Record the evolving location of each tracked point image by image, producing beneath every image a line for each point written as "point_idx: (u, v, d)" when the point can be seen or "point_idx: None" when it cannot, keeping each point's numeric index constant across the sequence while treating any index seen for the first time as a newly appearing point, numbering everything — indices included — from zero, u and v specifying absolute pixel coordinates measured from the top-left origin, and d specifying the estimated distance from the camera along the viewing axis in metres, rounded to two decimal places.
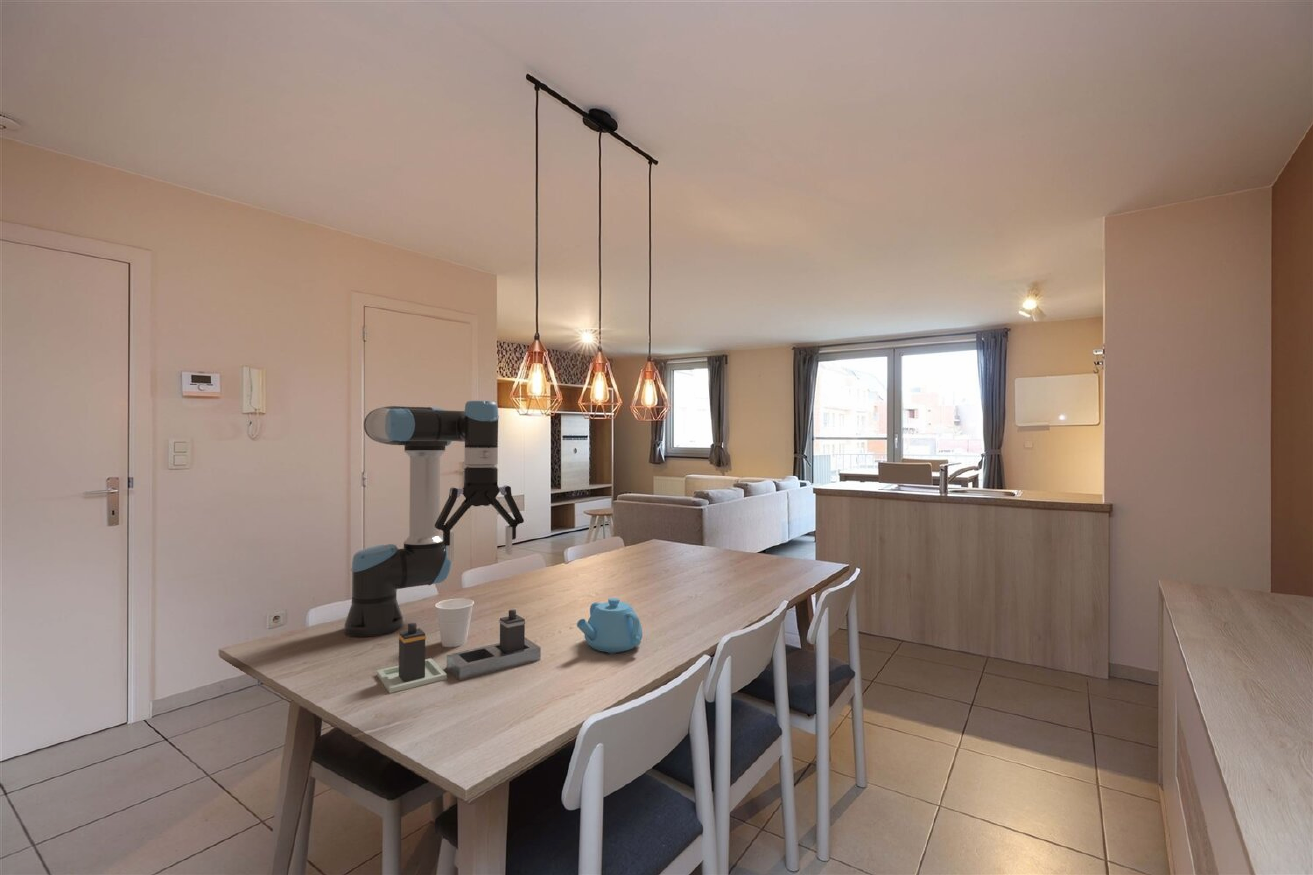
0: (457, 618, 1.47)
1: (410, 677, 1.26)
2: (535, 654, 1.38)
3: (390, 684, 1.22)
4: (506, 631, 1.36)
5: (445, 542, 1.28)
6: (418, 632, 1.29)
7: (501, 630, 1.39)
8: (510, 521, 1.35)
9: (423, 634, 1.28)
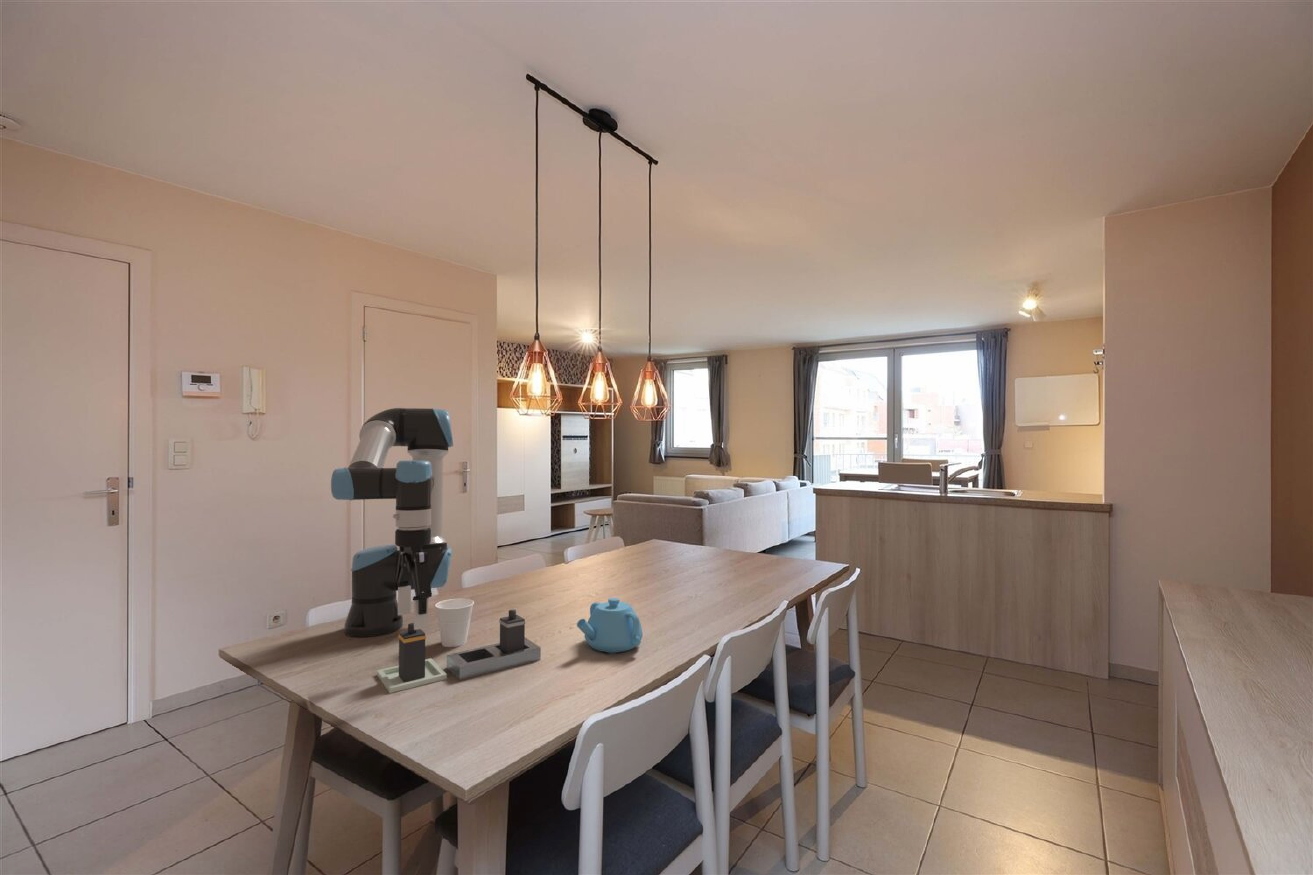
0: (457, 618, 1.47)
1: (410, 677, 1.26)
2: (535, 654, 1.38)
3: (390, 684, 1.22)
4: (506, 631, 1.36)
5: None
6: (418, 632, 1.29)
7: (501, 630, 1.39)
8: (415, 592, 1.22)
9: (423, 634, 1.28)
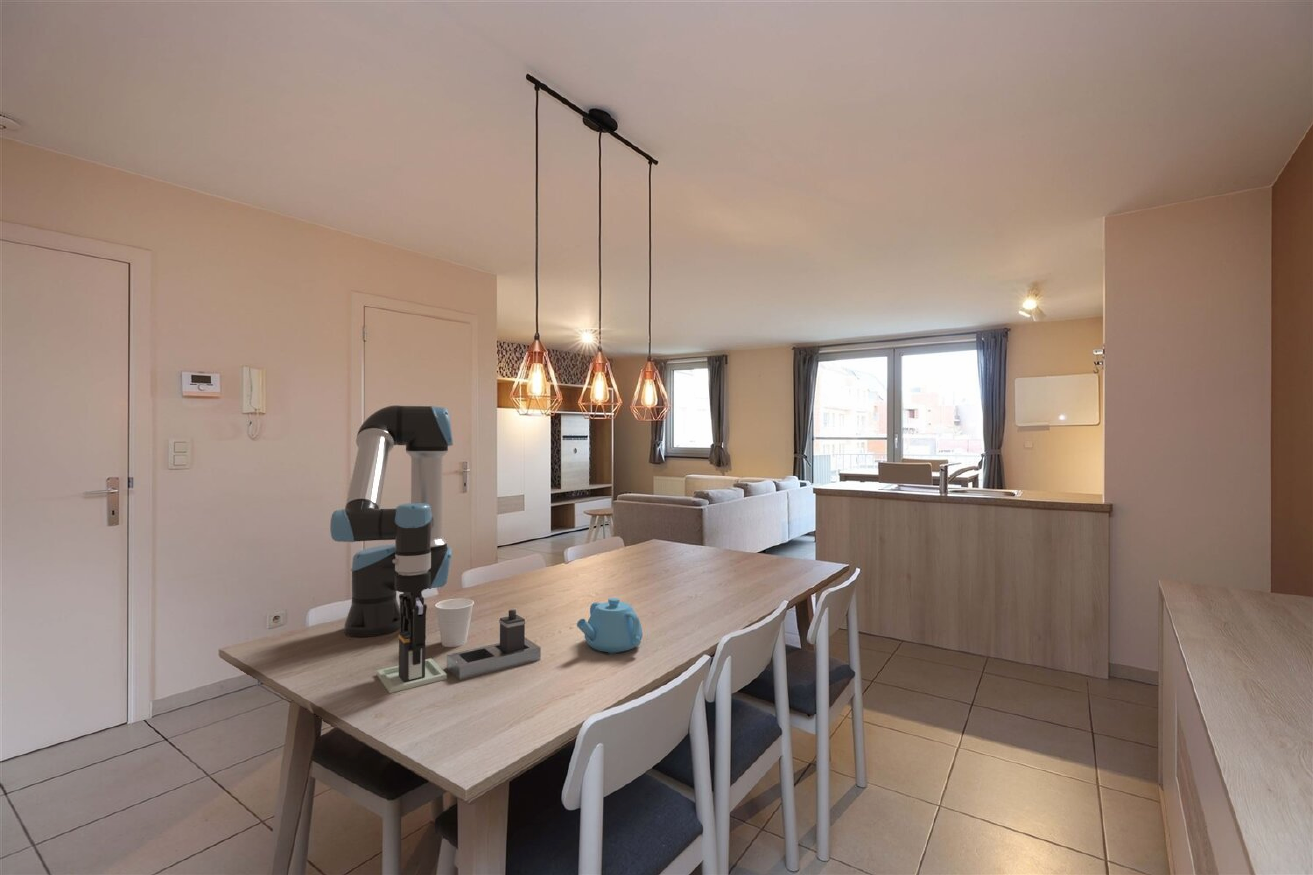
0: (457, 618, 1.47)
1: None
2: (535, 654, 1.38)
3: (390, 684, 1.22)
4: (506, 631, 1.36)
5: None
6: None
7: (501, 630, 1.39)
8: (410, 642, 1.26)
9: None
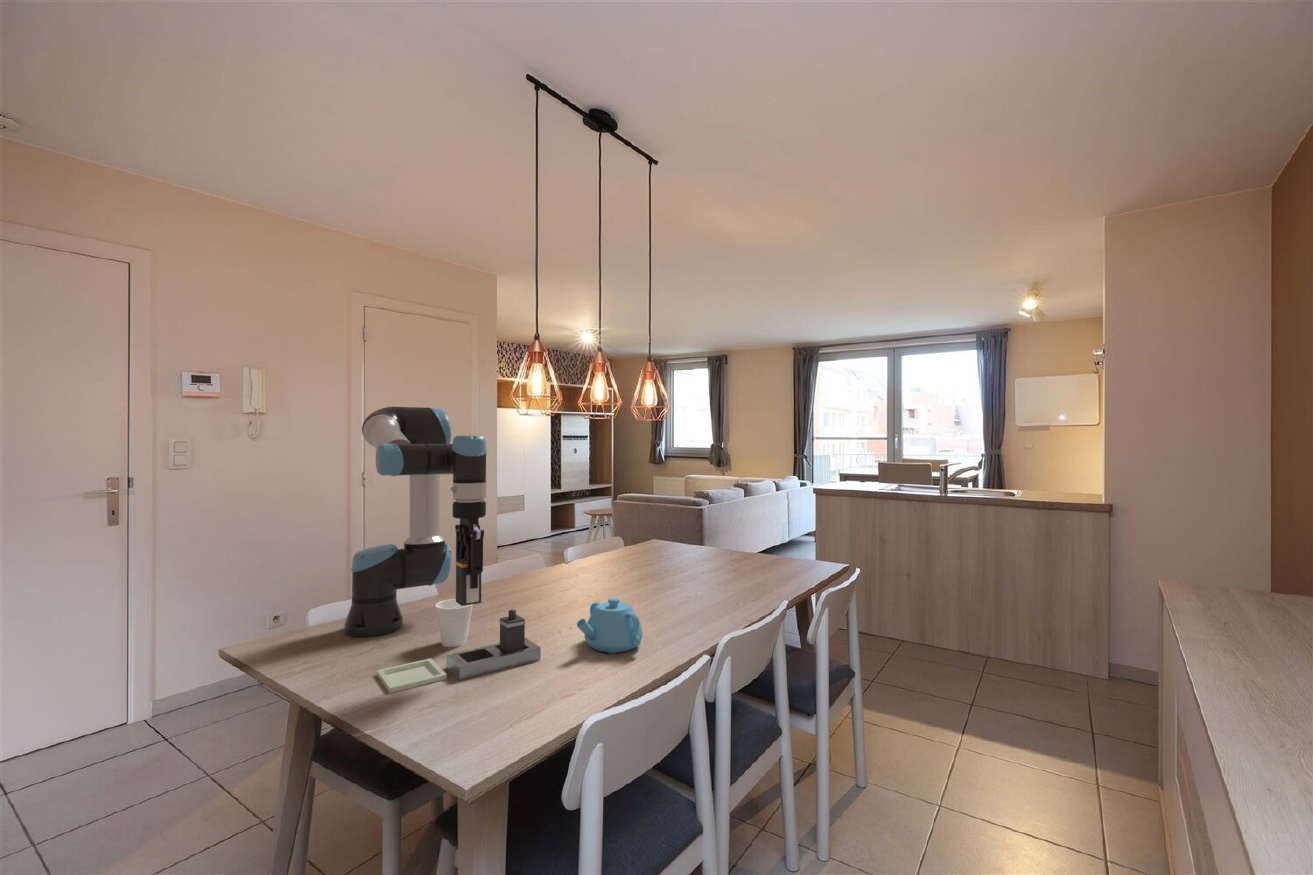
0: (457, 618, 1.47)
1: None
2: (535, 654, 1.38)
3: (390, 684, 1.22)
4: (506, 631, 1.36)
5: None
6: None
7: (501, 630, 1.39)
8: (468, 567, 1.30)
9: None
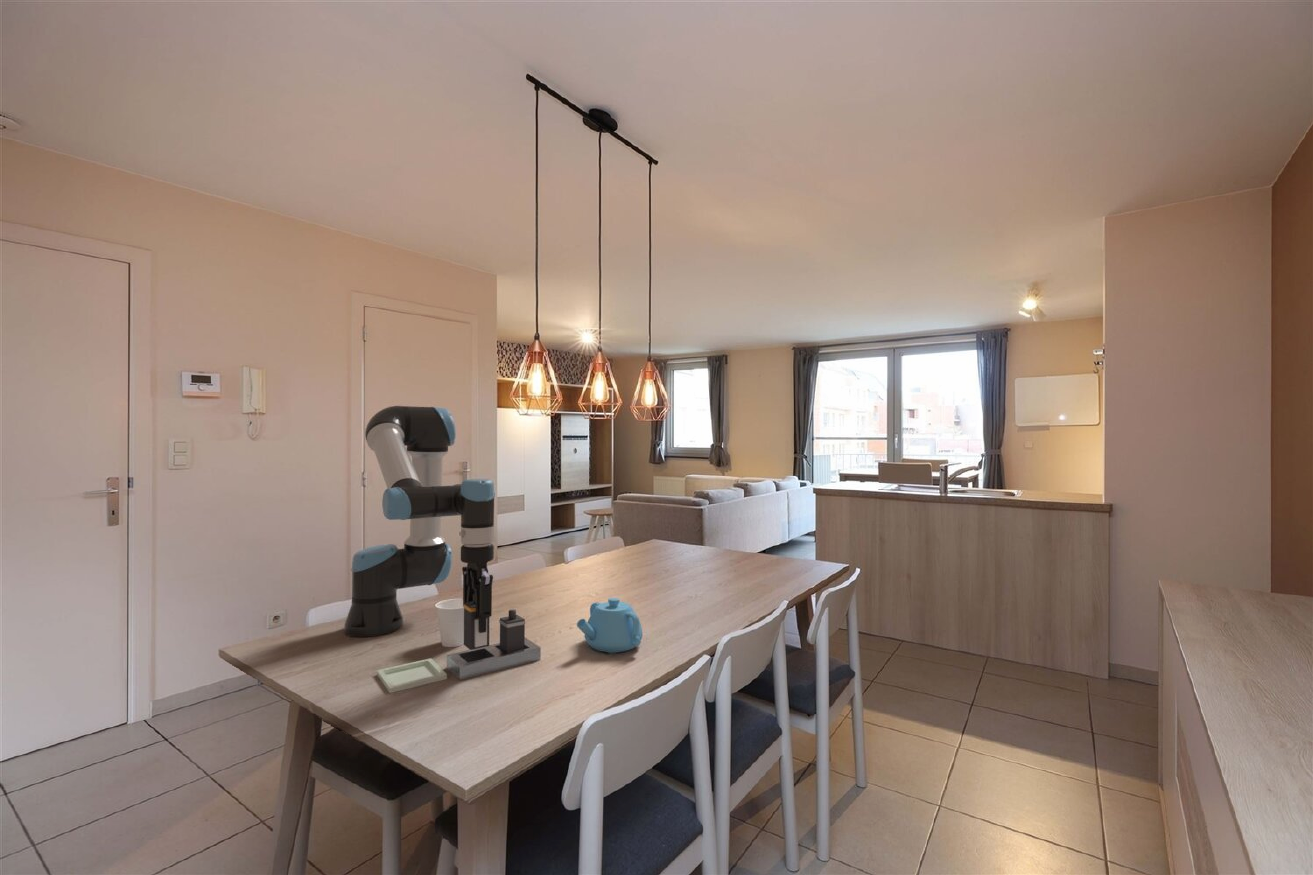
0: (457, 618, 1.47)
1: None
2: (535, 654, 1.38)
3: (390, 684, 1.22)
4: (506, 631, 1.36)
5: None
6: None
7: (501, 630, 1.39)
8: (476, 611, 1.31)
9: None
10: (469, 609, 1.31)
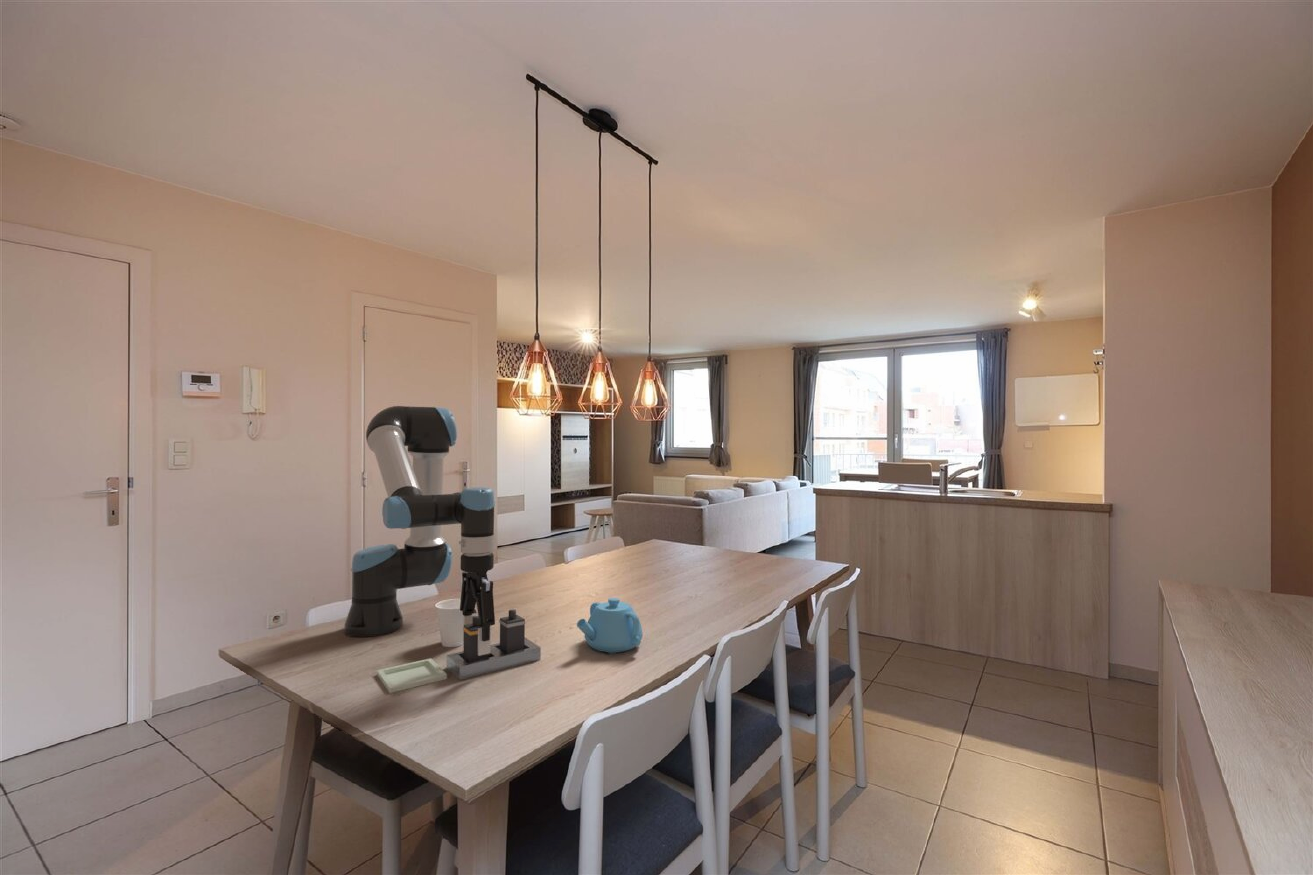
0: (457, 618, 1.47)
1: None
2: (535, 654, 1.38)
3: (390, 684, 1.22)
4: (506, 631, 1.36)
5: None
6: None
7: (501, 630, 1.39)
8: (479, 620, 1.29)
9: None
10: (469, 632, 1.31)
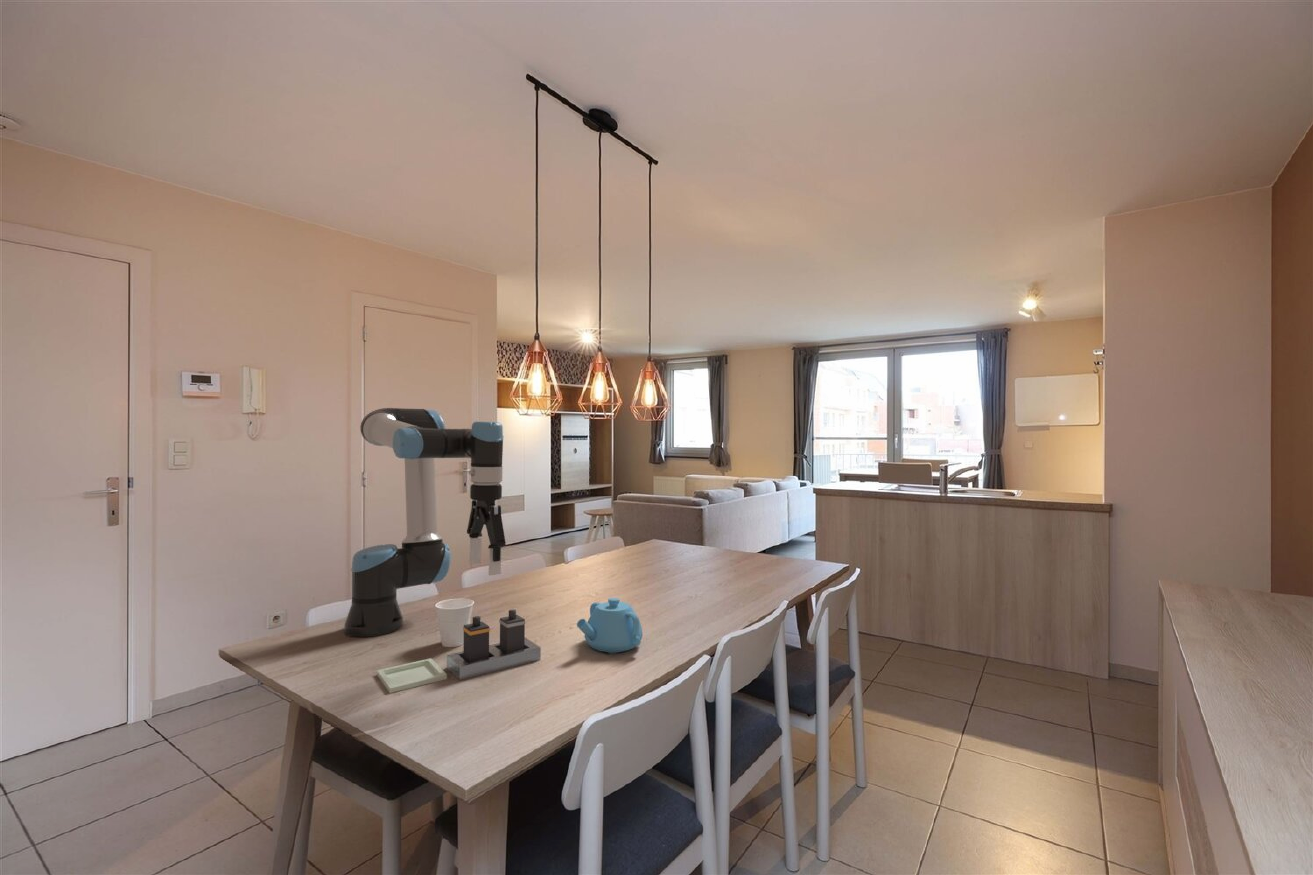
0: (457, 618, 1.47)
1: None
2: (535, 654, 1.38)
3: (390, 684, 1.22)
4: (506, 631, 1.36)
5: None
6: (482, 625, 1.34)
7: (501, 630, 1.39)
8: (490, 542, 1.34)
9: (487, 627, 1.33)
10: (469, 632, 1.31)
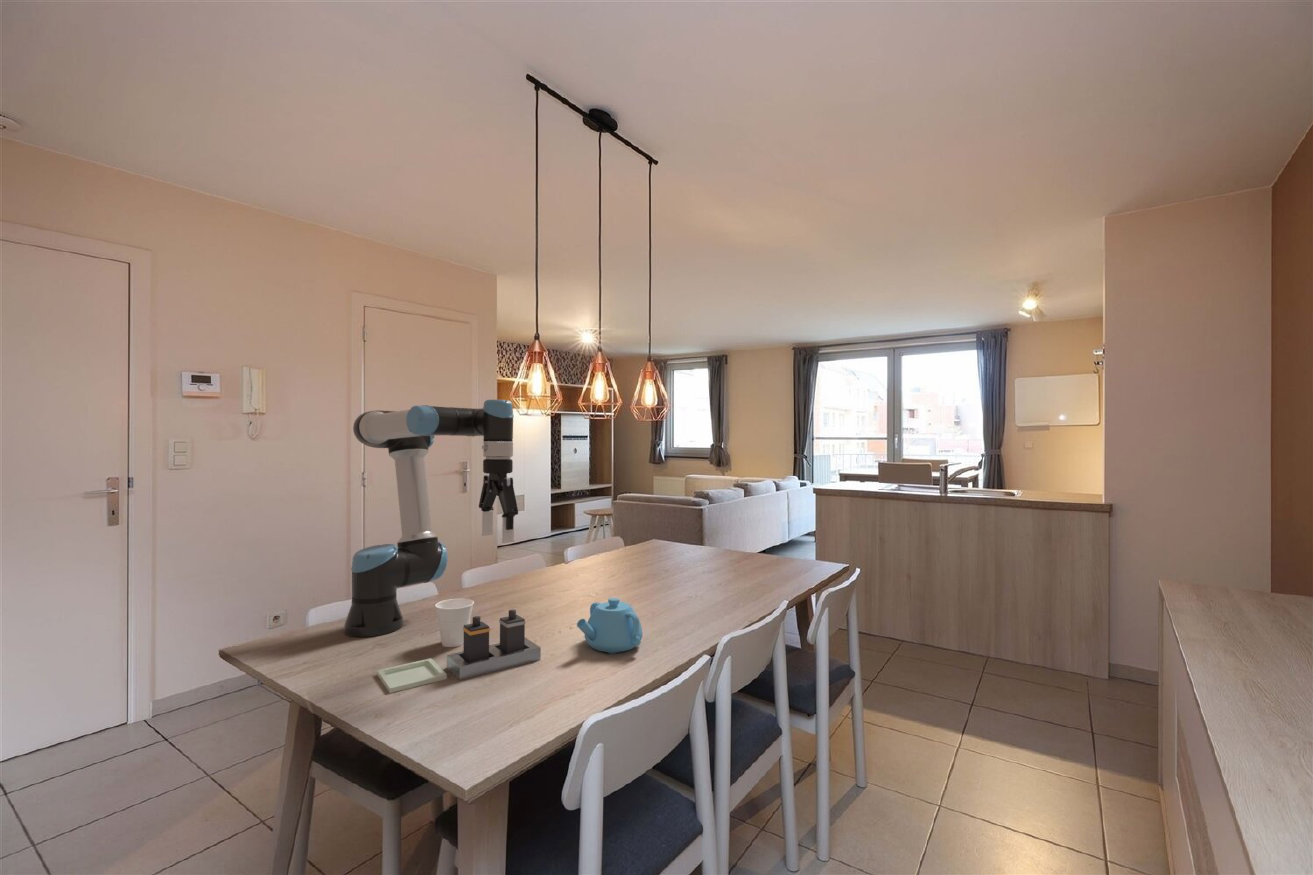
0: (457, 618, 1.47)
1: None
2: (535, 654, 1.38)
3: (390, 684, 1.22)
4: (506, 631, 1.36)
5: None
6: (482, 625, 1.34)
7: (501, 630, 1.39)
8: (503, 511, 1.43)
9: (487, 627, 1.33)
10: (469, 632, 1.31)
